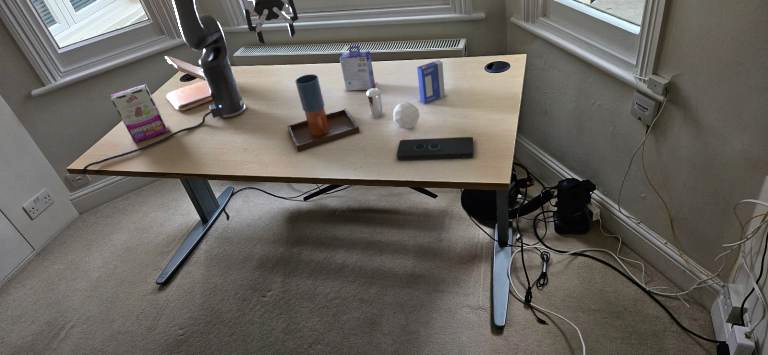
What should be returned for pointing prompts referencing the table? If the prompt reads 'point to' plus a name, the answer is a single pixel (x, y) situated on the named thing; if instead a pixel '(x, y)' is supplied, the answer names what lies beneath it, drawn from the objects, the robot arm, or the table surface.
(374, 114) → the milkshake
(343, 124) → the tray
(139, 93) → the candy bar box
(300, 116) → the table surface
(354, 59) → the ink cartridge box
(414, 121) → the geometric ball
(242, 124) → the table surface
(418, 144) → the smart home device
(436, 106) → the table surface
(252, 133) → the table surface
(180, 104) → the case
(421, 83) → the walkman
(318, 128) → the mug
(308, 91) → the glass
